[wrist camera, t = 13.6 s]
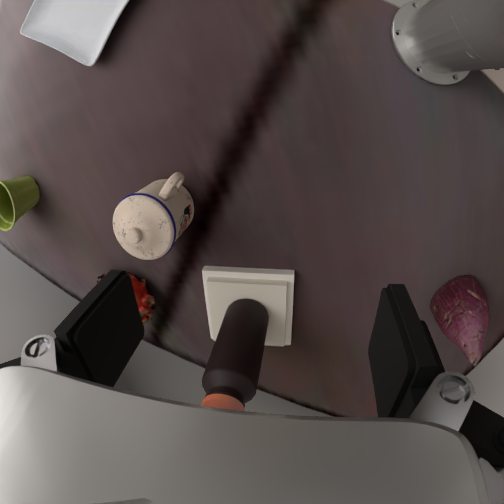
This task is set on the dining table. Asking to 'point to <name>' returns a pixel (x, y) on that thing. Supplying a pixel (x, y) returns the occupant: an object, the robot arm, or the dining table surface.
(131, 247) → the teacup with lid
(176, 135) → the dining table surface
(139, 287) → the dragon fruit
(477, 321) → the vegetable
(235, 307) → the dark brown water bottle
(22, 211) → the plant pot
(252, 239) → the dining table surface
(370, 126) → the dining table surface
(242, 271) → the stand
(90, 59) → the salad plate
